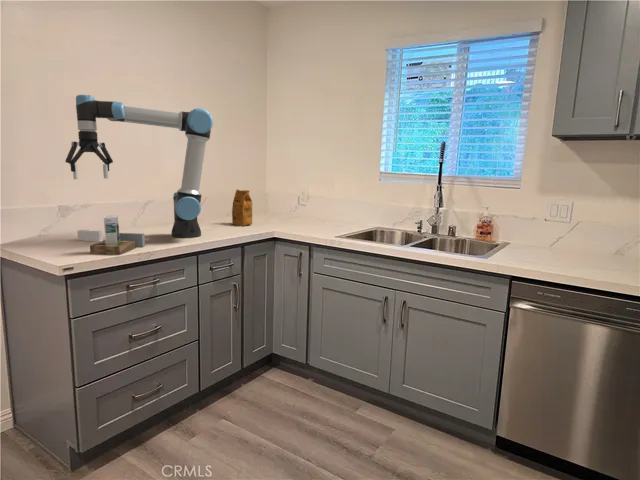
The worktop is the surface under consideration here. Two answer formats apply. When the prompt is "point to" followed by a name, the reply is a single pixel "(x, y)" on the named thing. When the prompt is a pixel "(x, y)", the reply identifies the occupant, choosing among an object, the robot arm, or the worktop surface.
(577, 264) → the worktop surface
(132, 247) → the tray
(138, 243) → the backstop wall
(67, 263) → the worktop surface
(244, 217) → the coffee package
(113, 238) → the syrup box
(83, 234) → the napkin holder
